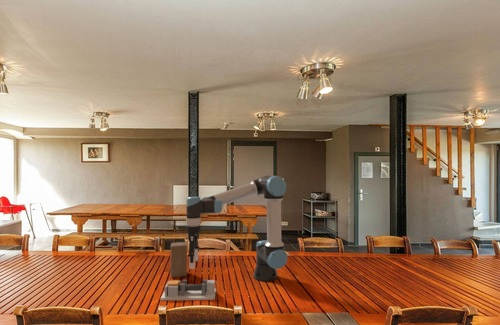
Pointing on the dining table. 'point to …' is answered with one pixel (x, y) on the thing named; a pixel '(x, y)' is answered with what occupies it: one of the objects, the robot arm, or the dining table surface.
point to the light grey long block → (186, 293)
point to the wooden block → (178, 259)
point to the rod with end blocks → (195, 286)
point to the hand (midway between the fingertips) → (193, 264)
